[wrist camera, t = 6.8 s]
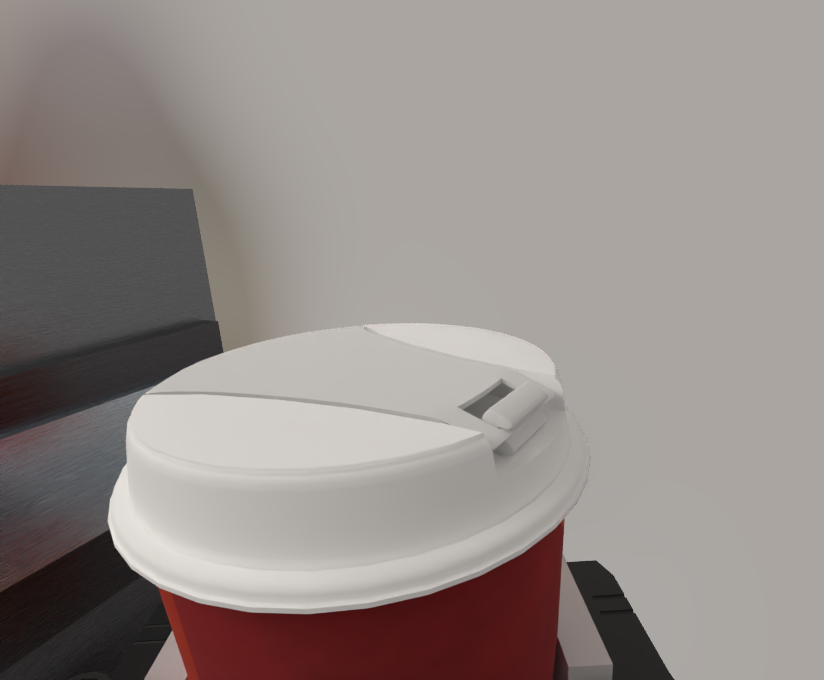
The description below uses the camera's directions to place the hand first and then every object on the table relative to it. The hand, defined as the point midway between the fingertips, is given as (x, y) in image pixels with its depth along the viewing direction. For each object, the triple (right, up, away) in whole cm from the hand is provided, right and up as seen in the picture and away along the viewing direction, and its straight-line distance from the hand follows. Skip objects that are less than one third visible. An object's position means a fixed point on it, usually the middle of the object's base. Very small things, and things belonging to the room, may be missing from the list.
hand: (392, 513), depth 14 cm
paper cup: (+1, -9, -3) cm, 9 cm away
